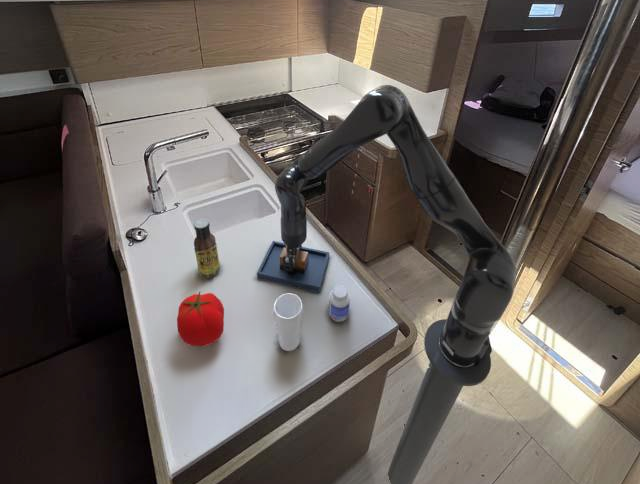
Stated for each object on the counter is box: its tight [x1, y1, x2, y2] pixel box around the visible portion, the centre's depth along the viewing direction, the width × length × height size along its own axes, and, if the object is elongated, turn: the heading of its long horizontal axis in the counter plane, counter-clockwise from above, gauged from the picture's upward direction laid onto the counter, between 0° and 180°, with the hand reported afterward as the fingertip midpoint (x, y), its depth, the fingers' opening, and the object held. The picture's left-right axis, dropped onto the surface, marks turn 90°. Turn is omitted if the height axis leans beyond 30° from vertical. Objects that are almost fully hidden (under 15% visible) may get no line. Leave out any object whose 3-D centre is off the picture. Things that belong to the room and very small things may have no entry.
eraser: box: [280, 247, 309, 274], centre depth 101 cm, size 8×5×5 cm, turn 76°
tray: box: [256, 240, 330, 293], centre depth 102 cm, size 20×14×2 cm
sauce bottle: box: [193, 218, 221, 279], centre depth 96 cm, size 6×6×20 cm
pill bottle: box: [328, 284, 351, 323], centre depth 87 cm, size 5×5×10 cm
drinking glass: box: [273, 292, 304, 352], centre depth 79 cm, size 7×7×15 cm
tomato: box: [176, 291, 225, 347], centre depth 81 cm, size 12×12×13 cm
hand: (294, 264), depth 102 cm, fingers open, 6 cm apart
